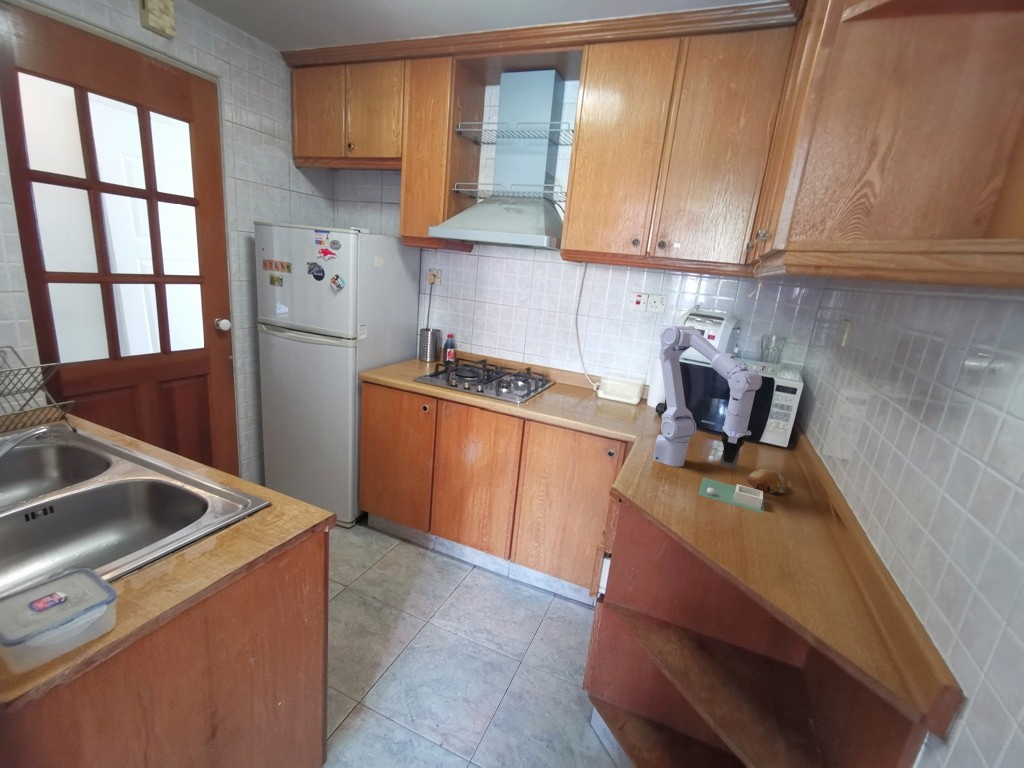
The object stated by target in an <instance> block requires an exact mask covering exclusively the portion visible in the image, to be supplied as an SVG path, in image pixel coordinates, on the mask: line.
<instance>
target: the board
mask: <svg viewBox="0 0 1024 768" xmlns="http://www.w3.org/2000/svg"><path fill="white" fill-rule="evenodd" d="M736 486H737V485H733V484H728V483H725V482H722V481H717V480H715V479H711V478H707V477H704V476H703V477H702V480H701V483H700V486H699V489H698V493H697V495H698V496H702V497H705V498H709V499H712V500H715V501H718V502H723V503H726V504H730V505H732V506H736V507H739V508H744V509H747V510H750V511H753V512H757V513H761V514H764V513H765V511H764V509H765V493H763V501H762V505H761V509H757V508H753V507H750V506H746V505H743V504H739V503H736V502H733V501H734V494H735V490H736Z"/></svg>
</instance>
